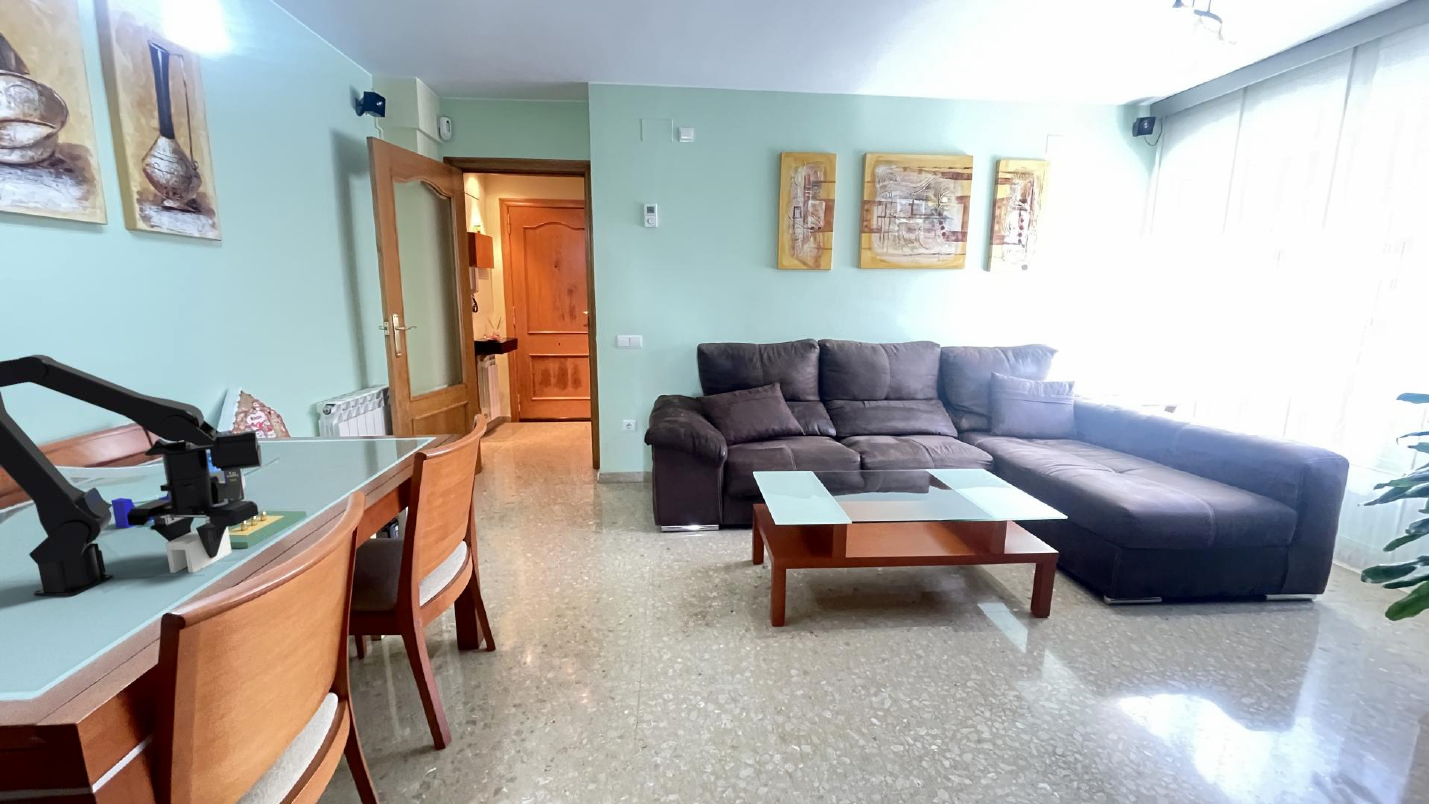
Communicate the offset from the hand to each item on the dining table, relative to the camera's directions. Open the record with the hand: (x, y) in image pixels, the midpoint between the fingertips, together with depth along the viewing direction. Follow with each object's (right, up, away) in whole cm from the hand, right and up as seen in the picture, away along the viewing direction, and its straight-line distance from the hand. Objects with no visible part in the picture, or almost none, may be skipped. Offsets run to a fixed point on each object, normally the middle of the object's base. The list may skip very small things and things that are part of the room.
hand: (201, 556), depth 102 cm
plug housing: (0, -1, 0) cm, 1 cm away
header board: (-2, +2, +14) cm, 14 cm away
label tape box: (-21, +4, +28) cm, 36 cm away
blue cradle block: (-30, +3, +21) cm, 36 cm away
